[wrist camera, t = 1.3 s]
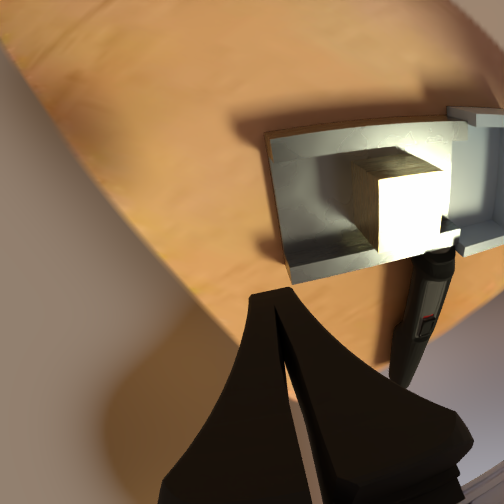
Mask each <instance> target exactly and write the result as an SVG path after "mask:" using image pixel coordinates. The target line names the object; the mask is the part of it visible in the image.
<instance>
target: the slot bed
mask: <svg viewBox="0 0 504 504" xmlns="http://www.w3.org/2000/svg"><path fill="white" fill-rule="evenodd" d="M264 137H265V143H266V149H267V155H268V160H269V166H270V172H271V178H272V184H273V190H274V196H275V202H276V208H277V215H278V221H279V227H280V234H281V240H282V247H283V254H284V260H285V266H286V269H287V272H288V275H289V278H290V281H291V283H292V285H294V284H299V283H303V282H308V281H312V280H317V279H321V278H325V277H330V276H334V275H338V274H343V273H347V272H351V271H355V270H359V269H364V268H368V267H372V266H376V265H380V264H384V263H388V262H392V261H396V260H400V259H404V258H408V257H412V256H416V255H419V254H423V253H425V252H431V251H434V250H438V249H442V248H446V247H449V246H453V245H457V244H458V243H459V236H460V230H461V228H459V227H458V226H457V225H456V224H454V223H453V222H452V221H450V220H449V219H448V210H449V199H450V186H451V166H452V141H465V140H468V121H466V120H462V119H459V118H455V117H452V116H448V115H428V116H404V117H387V118H374V119H362V120H352V121H342V122H334V123H325V124H318V125H310V126H303V127H296V128H290V129H283V130H277V131H272V132H266V133H264ZM409 153H410V154H412V155H414V156H416V157H418V158H421V159H423V160H425V161H427V162H429V163H430V164H432V165H434V166H436V167H438V168H440V169H442V170H444V187H443V201H442V213H441V223H440V232H439V239H436V240H432V241H428V242H424V243H420V244H416V245H412V246H407V247H403V248H399V249H395V250H391V251H387V252H382V253H378V252H377V251H376V250H375V249H374V248H373V246H372V245H371V244H370V243H369V241H368V240H367V239H366V238H365V237H364V236H363V234H362V233H361V232H360V231H359V230H358V228H357V227H356V226H355V225H354V209H353V188H352V172H351V161H353V160H360V159H368V158H375V157H383V156H391V155H400V154H409Z"/></svg>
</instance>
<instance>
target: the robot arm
mask: <svg viewBox="0 0 504 504" xmlns="http://www.w3.org/2000/svg"><path fill="white" fill-rule="evenodd" d="M284 362H285V364H284ZM285 365H286V368H287V371H288V374H289V376H290V379H291V382H292V385H293V388H294V391H295V394H296V397H297V400H298V403H299V405H300V408H301V411H302V414H303V417H304V421H305V424H306V429H307V432H308V437H309V441H310V446H311V450H312V454H313V459H314V464H315V468H316V473H317V477H318V482H319V486H320V491H321V495H322V501H323V504H504V460H503V461H502V462H501V463H499V464H498V465H496V466H495V467H493V468H492V469H490V470H489V471H487V472H485V473H484V474H482V475H480V476H479V477H477V478H475V479H474V480H472V481H470V482H469V483H467V484H465V485H463V486H460V484H459V481H458V479H457V477H458V476H460V471H459V469H458V467H457V465H456V464H457V463H458V462H459V461H460V460H461V459H462V458H463V457H464V456H465V455H466V454H467V453H468V452H469V450H470V449H471V448H472V446H473V442H474V440H473V438H472V436H471V434H470V432H469V430H468V428H467V427H466V425H465V423H464V422H463V421H462V419H461V418H460V417H459V415H458V414H457V413H456V412H455V411H453V410H450V409H448V408H445V407H443V406H440V405H438V404H435V403H433V402H431V401H429V400H427V399H424V398H422V397H420V396H418V395H417V394H415V393H412V392H411V391H408V390H407V389H405V388H403V387H402V386H400V385H398V384H397V383H395V382H393V381H392V380H390V379H388V378H386V377H385V376H383V375H382V374H380V373H379V372H377V371H376V370H374V369H373V368H371V367H370V366H369V365H367V364H366V363H364V362H363V361H362V360H360V359H359V358H358V357H357V356H355V355H354V354H353V353H352V352H350V351H349V350H348V349H347V348H346V347H344V346H343V345H342V344H341V343H340V342H339V341H338V340H337V339H336V338H335V337H333V336H332V335H331V334H330V333H329V332H328V331H327V330H326V329H325V328H324V327H323V326H322V325H321V324H320V322H319V321H318V320H317V319H316V318H315V317H314V316H313V315H312V314H311V313H310V312H309V310H308V309H307V308H306V307H305V306H304V304H303V303H302V302H301V301H300V299H299V298H298V296H297V295H296V294H295V292H294V291H293V289H292V288H290V287H285V288H280V289H276V290H271V291H266V292H261V293H257V294H252V295H251V296H250V297H249V305H248V314H247V319H246V324H245V329H244V332H243V336H242V340H241V344H240V347H239V350H238V353H237V356H236V359H235V362H234V365H233V368H232V370H231V373H230V375H229V377H228V380H227V382H226V384H225V387H224V389H223V391H222V393H221V395H220V397H219V399H218V401H217V403H216V405H215V406H214V408H213V410H212V412H211V414H210V416H209V417H208V419H207V421H206V422H205V424H204V425H203V427H202V429H201V430H200V432H199V433H198V435H197V436H196V438H195V439H194V441H193V442H192V444H191V445H190V446H189V448H188V449H187V451H186V452H185V453H184V454H183V456H182V457H181V458H180V459H179V461H178V462H177V463H176V464H175V466H174V467H173V468H172V469H171V470H170V472H169V473H168V474H167V475H166V476H165V477H164V479H163V480H162V484H161V488H160V493H159V499H158V504H312V500H311V495H310V491H309V487H308V482H307V478H306V474H305V469H304V465H303V461H302V457H301V452H300V448H299V444H298V440H297V435H296V431H295V427H294V422H293V418H292V414H291V409H290V405H289V398H288V389H287V381H286V372H285Z"/></svg>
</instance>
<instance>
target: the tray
mask: <svg viewBox="0 0 504 504" xmlns="http://www.w3.org/2000/svg"><path fill="white" fill-rule="evenodd" d="M447 115H448V116H452V117H455V118H459V119H462V120H466V121H468V140H465V141H452V166H451V186H450V199H449V210H448V219H449V220H450V221H452V222H453V223H454V224H456V225H457V226H458V227H459V228H461V230H460V236H459V243H458V244H457V245H455V250H456V251H457V252H458V253H459V254H460V255H461V256H462V257H466V256H469V255H472V254H476V253H479V252H482V251H485V250H488V249H491V248H494V247H497V246H500V245H503V244H504V109H500V108H485V107H461V106H447Z"/></svg>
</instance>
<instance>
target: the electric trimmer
mask: <svg viewBox="0 0 504 504" xmlns="http://www.w3.org/2000/svg"><path fill="white" fill-rule="evenodd" d="M411 260H412V263H413V265H414V268H413V273H412V279H411V284H410V289H409V294H408V299H407V304H406V309H405V313H404V317H403V321H402V322H401V323H400V324H399V325H398V326H397V327H395V329H394V332H393V338H392V348H391V357H390V366H389V378H390V380H392V381H393V382H395V383H397V384H398V385H400V386H402V387H403V388H405V389H406V388H407V387H408V386H409V384H410V382H411V380H412V377H413V376H414V373H415V371H416V369H417V367H418V364H419V362H420V360H421V357H422V355H423V353H424V350H425V348H426V345H427V343H428V341H429V338H430V336H431V334H432V332H433V330H434V328H435V325H436V323H437V320H438V317H439V315H440V312H441V309H442V306H443V303H444V300H445V297H446V294H447V291H448V288H449V285H450V282H451V279H452V276H453V274H454V271H455V245H453V246H449V247H446V248H442V249H438V250H434V251H431V252H425V253H423V254H419V255H416V256H412V257H411Z"/></svg>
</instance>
